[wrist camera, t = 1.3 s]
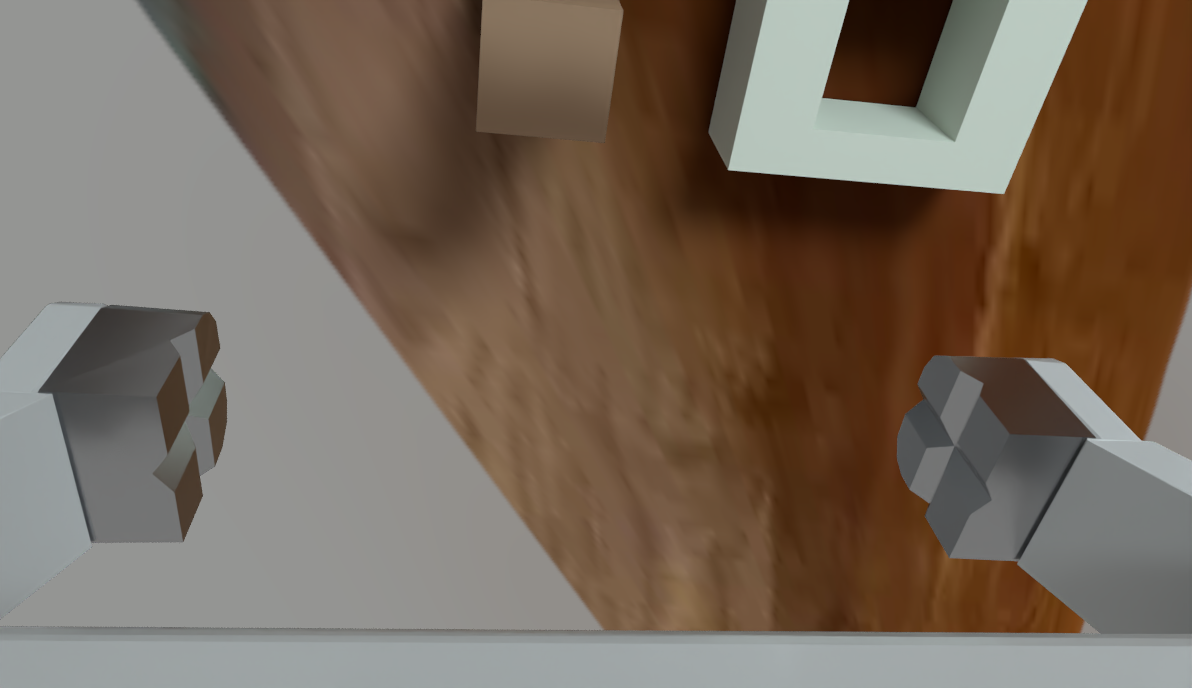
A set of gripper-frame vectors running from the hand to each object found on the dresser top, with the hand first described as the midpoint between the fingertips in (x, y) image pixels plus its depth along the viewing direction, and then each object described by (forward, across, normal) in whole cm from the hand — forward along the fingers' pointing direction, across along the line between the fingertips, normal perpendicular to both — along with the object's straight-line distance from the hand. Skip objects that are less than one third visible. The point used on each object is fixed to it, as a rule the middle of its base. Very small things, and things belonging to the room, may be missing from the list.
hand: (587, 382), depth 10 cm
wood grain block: (+28, 0, +1) cm, 28 cm away
